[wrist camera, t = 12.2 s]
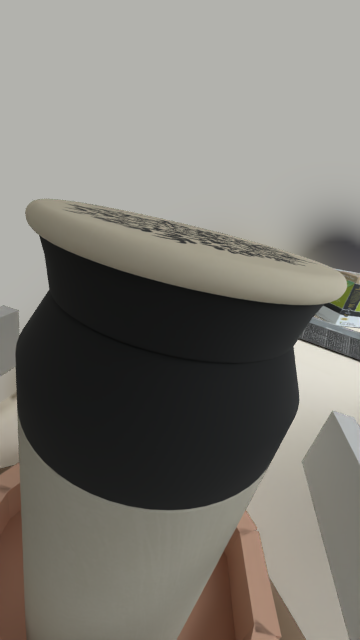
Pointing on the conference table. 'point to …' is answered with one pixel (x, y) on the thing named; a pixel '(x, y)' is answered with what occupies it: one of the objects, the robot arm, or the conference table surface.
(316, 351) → the conference table surface
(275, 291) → the travel mug
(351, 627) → the robot arm
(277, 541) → the conference table surface
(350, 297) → the tea box
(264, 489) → the conference table surface
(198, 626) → the bowl
